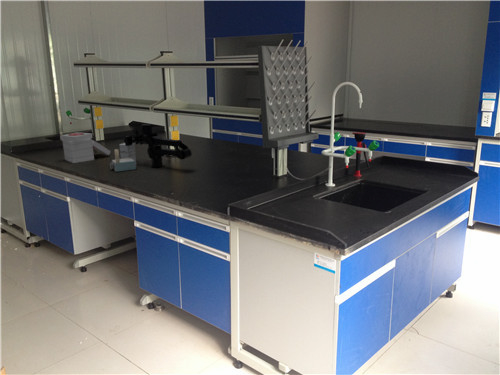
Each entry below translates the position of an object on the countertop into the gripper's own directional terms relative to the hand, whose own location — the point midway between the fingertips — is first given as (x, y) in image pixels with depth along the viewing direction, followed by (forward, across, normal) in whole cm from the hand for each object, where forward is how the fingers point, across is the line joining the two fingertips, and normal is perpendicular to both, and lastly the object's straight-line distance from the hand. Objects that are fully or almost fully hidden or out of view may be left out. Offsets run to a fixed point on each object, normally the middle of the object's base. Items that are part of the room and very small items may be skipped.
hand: (128, 138), depth 289 cm
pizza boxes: (+38, +6, +16) cm, 42 cm away
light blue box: (-10, +15, +17) cm, 24 cm away
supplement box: (+3, -1, +17) cm, 17 cm away
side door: (-15, +17, +17) cm, 28 cm away
